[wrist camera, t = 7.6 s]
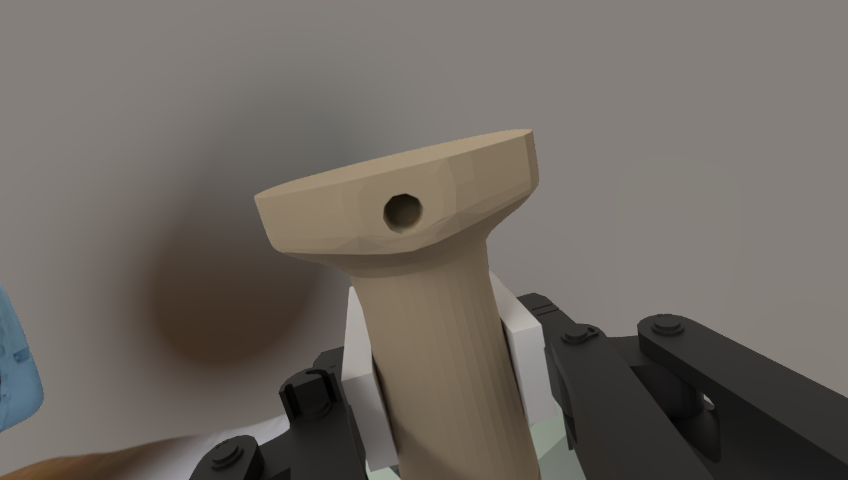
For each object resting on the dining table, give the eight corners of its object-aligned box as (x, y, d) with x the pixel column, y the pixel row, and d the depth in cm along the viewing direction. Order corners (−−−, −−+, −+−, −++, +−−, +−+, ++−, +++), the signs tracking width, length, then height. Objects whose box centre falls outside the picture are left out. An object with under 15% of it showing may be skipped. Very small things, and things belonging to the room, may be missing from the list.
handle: (641, 681, 12) (565, 128, 8) (412, 738, 12) (220, 212, 8) (570, 523, 16) (501, 128, 12) (407, 563, 16) (286, 179, 12)
